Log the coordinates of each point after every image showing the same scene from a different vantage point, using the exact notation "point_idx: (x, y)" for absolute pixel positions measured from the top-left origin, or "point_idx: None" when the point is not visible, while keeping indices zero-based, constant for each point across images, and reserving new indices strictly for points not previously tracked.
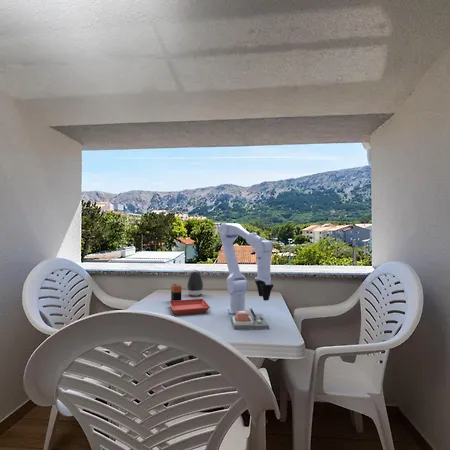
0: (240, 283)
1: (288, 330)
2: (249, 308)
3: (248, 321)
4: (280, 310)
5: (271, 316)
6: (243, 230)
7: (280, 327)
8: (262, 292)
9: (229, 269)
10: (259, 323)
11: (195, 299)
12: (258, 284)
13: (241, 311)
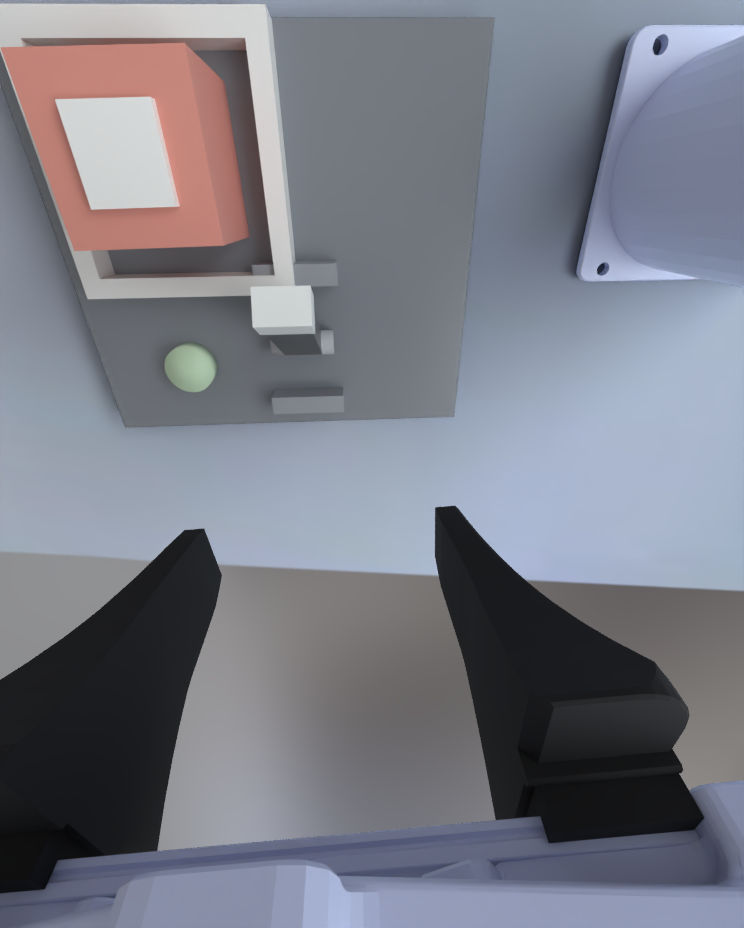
0: None
1: (129, 530)
2: (254, 296)
3: (208, 253)
4: (580, 560)
5: (446, 483)
6: None
7: (182, 497)
8: (127, 609)
9: None
10: (163, 359)
11: None
12: (496, 665)
13: (135, 144)
